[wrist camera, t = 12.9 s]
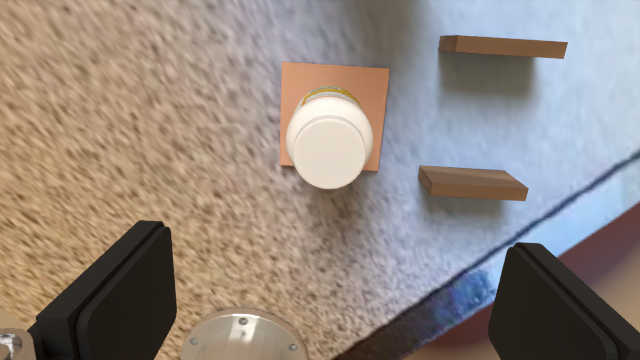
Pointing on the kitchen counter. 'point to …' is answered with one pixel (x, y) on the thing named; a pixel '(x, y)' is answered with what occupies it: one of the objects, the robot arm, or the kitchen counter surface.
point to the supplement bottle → (329, 138)
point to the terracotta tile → (354, 79)
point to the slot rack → (482, 180)
